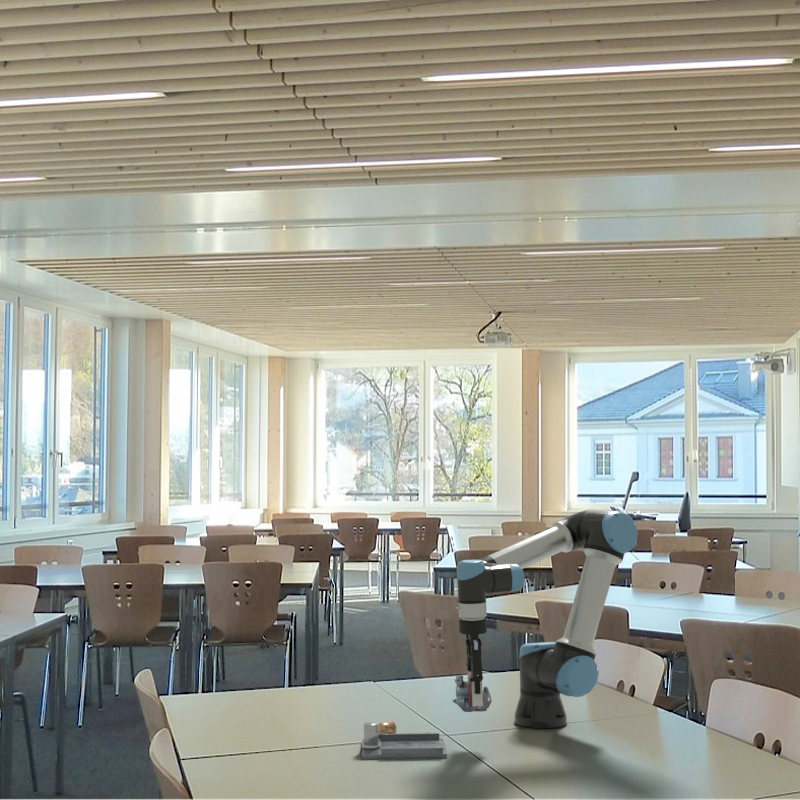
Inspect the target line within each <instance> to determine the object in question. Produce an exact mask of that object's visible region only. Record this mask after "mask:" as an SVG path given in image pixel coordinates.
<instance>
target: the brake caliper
mask: <svg viewBox="0 0 800 800" xmlns="http://www.w3.org/2000/svg"><path fill="white" fill-rule="evenodd" d="M475 676H477V675H475ZM471 678H472V670H471ZM454 682H455V685H456V687H455V696H456V698H454V699H453V700H452V702H453V703H454V704H456V705H457V706H458V707H459V708H460V710H461V711H463V712H465V713H472V712H479V713H480V712H481V713H482V712H487V711H488V709H489V707H490V706H491V704H492V702H493V701H492V696H491V693H490V690H489V688H488V687H487V686H483V688H482V693H483V706H472V682H470V681H468V680H467V681H465V680H464V676H463V674H460V675H455V679H454Z"/></svg>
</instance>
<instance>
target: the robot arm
mask: <svg viewBox="0 0 800 800" xmlns="http://www.w3.org/2000/svg"><path fill="white" fill-rule="evenodd" d="M638 534H639V533H638V528H637V525H636V523H635V521H634V519H633V518H632V517H631V516H630V515H629V514H627V513H625V512H623V511H617V510H613V509H611V510H602V509H601V510H600V509H599V510H598V509H587V510H581V511H579V512H576V513H574V514H571V515H569V516H567V517H565V518H562V519H560V520H558V521H555V522H554V523H552V524H551V527H550V528H548V529H546V530H544V531H541V532H538V533H537V534H534V535H532V536H529V537H527V538H524V539H522V540H520V541H519V542H516V543H513V544H511V545H509V546H508V547H504V548H503V549H500V550H498V551H496V552H493V553H491V554H489V555H486V556H484V557H481V558H478V559H463V560H461V561H459V562H458V563H457V565H456V567H457V569H456V581H457V583H456V584H457V602H458V605H456V607H455V609H456V610H457V611H458V618H460V619H458V632H459V633H460V634H461V635H465V637H466V639H465V650H466V666H465V667H466V669H467V681H470V682H472V706H483V693H482V690H483V679H484V677H483V666H482V664H483V662H482V643H483V642H482V639H481V638H480V637H479V635H483V634H486V633H487V632H488V620H487V618H486V617H487V616H488V614H487V612H488V611H487V598H486V597H487V595H492V594H503V593H512V592H517V591H521V589H523V587H524V584H525V573H524V570H523V569H526V568H528V567H530V566H532V565H534V564H537V563H539V562H541V561H543V560H546V559H548V558H550V557H552V556H555V555H557V554H559V553H561V552H562V553H570V552H572V551H575V550H582V551H583V553H584V554H585V557H586V558H585V560H584V565H583V567H582V571H581V575H580V577H579V581H578V585H577V589H576V592H575V595H574V599H573V602H572V605H571V609H570V612H569V616H568V619H567V622H566V626H565V630H564V632H563V636H562V637H561V638H558V639H557V640H555V641H541V642H530V643H524V644H522V645H521V646H520V647H519V656H518V659H519V690H520V691H519V698H518V701H517V704H516V709H515V712H514V723H515V724H516V725H518V726H521V727H525V728H532V729H555V728H561V727H564V726H565V725H567V721H568V720H567V713H566V712H567V711H566V709H565V707H564V704H563V700H562V697H561V695H563V696H566V697H573V698H581V697H584V696H586V695H587V694H589V693H591V692H592V691H593V690H594V688H595V686H596V685H597V683H598V679H599V673H600V672H599V669H598V664H597V663H596V661H595V659H596V654H597V653H596V651H595V649H594V647H593V646H594V643H595V638H596V636H597V632H598V628H599V624H600V620H601V619H602V618H601V617H602V614H603V611H604V607H605V604H606V601H607V597H608V593H609V589H610V586H611V583H612V580H613V576H614V573H615V569H616V566H618V565H619V564H622V563H623V561H624V557H625V554H626V553H628V552H630V551H631V550H633V549H634V548H635V546H636V544H637V542H638ZM471 670H472V678H471ZM475 675H477V676H475Z"/></svg>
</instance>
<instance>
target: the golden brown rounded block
mask: <svg viewBox="0 0 800 800" xmlns="http://www.w3.org/2000/svg"><path fill="white" fill-rule="evenodd" d="M396 733H397V725H396V723H395V722H394V721H386V722H380V723H379V738H380V734H396Z"/></svg>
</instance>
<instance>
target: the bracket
mask: <svg viewBox="0 0 800 800" xmlns="http://www.w3.org/2000/svg"><path fill="white" fill-rule="evenodd" d="M447 758H448V751H447V750H446V745H445V742H444V739H443V738H441V737H440V732H415V733H412V732H411V733H409V732H408V733H404V732H402V733H401V732H400V733H399V732H398V733H397V732H396V733H395V734H380V737H379V723H378V722H375V721H371V722H369V721H368V722H365V723H363V739H361V760H392V759H393V760H394V759H396V760H397V759H398V760H399V759H400V760H403V759H409V760H410V759H447Z"/></svg>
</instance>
